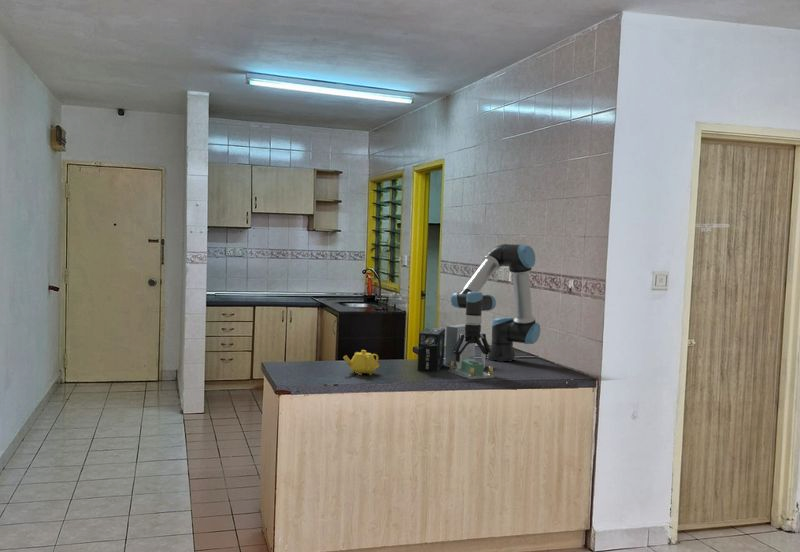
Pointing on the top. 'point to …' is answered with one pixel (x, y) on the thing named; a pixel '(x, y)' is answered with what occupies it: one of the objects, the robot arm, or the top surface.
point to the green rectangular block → (472, 363)
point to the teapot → (362, 362)
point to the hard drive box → (451, 341)
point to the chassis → (471, 372)
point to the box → (431, 349)
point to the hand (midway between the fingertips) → (471, 367)
